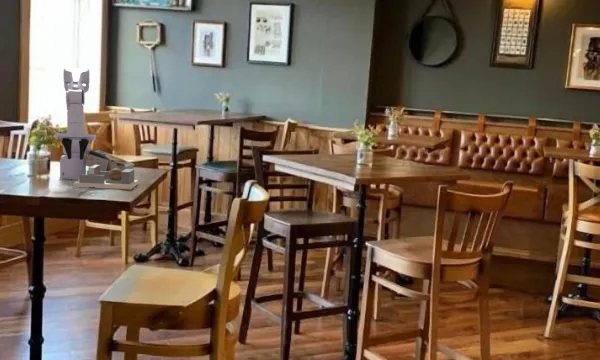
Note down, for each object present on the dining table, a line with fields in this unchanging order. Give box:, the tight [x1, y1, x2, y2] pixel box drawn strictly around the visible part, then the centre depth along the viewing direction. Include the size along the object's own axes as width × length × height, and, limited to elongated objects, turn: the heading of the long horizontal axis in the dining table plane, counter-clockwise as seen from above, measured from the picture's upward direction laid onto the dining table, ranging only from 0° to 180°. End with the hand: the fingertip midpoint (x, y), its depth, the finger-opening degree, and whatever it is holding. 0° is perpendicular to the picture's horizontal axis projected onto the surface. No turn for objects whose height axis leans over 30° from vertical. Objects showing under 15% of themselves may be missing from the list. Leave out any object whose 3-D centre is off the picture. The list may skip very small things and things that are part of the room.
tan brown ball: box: [109, 168, 122, 180], centre depth 282 cm, size 5×5×5 cm
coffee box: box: [85, 148, 135, 172], centre depth 297 cm, size 9×6×16 cm
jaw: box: [88, 165, 100, 175], centre depth 282 cm, size 2×8×4 cm, turn 179°
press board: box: [72, 168, 139, 190], centre depth 282 cm, size 21×12×6 cm, turn 89°
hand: (75, 159), depth 282 cm, fingers open, 4 cm apart
